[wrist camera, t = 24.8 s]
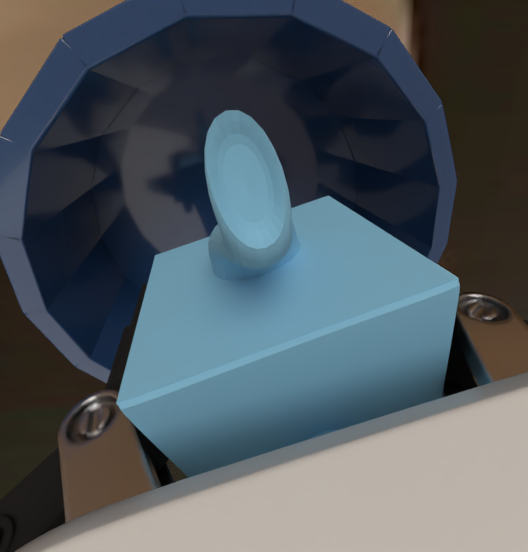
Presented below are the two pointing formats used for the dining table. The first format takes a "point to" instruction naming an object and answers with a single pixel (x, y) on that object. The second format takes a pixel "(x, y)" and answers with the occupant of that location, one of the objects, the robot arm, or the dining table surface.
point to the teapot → (280, 319)
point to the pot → (203, 146)
